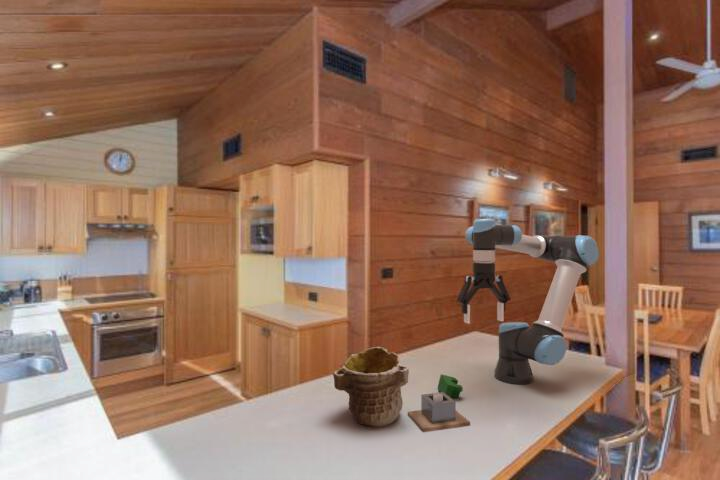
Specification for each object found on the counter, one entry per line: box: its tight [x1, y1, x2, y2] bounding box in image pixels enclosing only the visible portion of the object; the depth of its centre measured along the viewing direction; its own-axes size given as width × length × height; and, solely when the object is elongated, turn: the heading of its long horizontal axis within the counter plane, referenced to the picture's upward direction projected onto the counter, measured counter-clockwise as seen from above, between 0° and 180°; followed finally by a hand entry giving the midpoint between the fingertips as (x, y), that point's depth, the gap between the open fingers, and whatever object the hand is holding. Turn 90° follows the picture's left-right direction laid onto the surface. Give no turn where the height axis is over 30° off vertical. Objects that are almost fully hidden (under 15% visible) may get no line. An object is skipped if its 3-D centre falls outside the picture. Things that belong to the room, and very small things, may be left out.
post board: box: [407, 392, 471, 433], centre depth 126 cm, size 16×12×8 cm
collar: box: [420, 392, 457, 424], centre depth 126 cm, size 8×8×6 cm
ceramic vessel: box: [332, 346, 410, 428], centre depth 127 cm, size 23×24×25 cm
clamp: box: [437, 373, 464, 398], centre depth 147 cm, size 12×6×9 cm, turn 175°
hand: (483, 321), depth 140 cm, fingers open, 13 cm apart
